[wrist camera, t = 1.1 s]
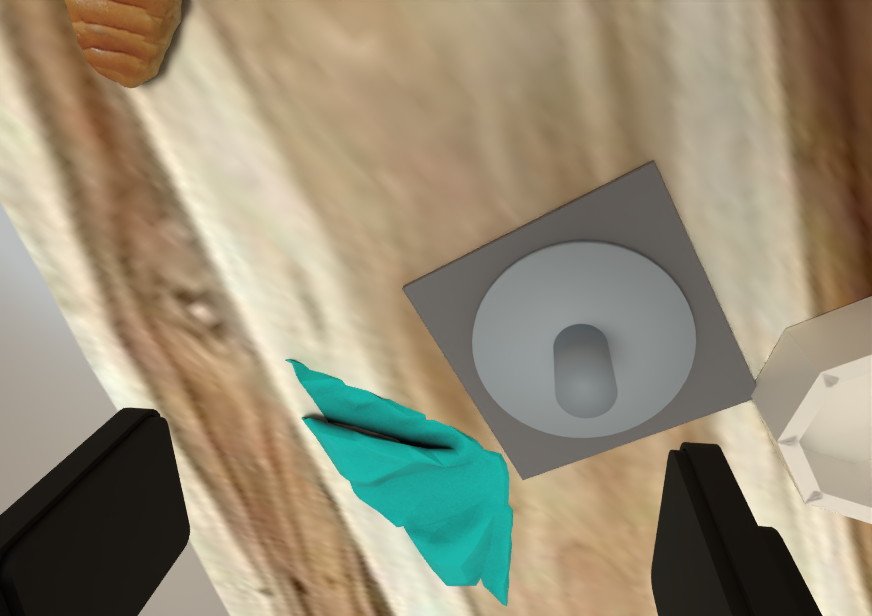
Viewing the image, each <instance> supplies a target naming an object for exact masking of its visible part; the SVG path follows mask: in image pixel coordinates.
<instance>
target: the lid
mask: <svg viewBox="0 0 872 616" xmlns="http://www.w3.org/2000/svg"><path fill="white" fill-rule="evenodd" d="M695 348H696V330H695V324H694V320H693V315H692V313H691V310H690V307H689V305H688V302H687V301H686V299H685V297H684V295H683V293H682V292H681V290H680V288H679V286H678V285H677V284H676V282H675V281H674V280H673V279H672V277H671V276H670V275H669V274H668V273H667V272H666V271H665V270H664V269H663V268H662V267H661V266H660V265H658V264H657V263H655V262H654V261H653V260H651V259H650V258H648V257H647V256H645V255H643V254H641V253H639V252H637V251H635V250H633V249H630V248H627V247H625V246H622V245H619V244H614V243H610V242H606V241H596V240H572V241H565V242H559V243H555V244H552V245H548V246H544V247H542V248H539V249H537V250H535V251H532V252H530V253H528V254H526V255H525V256H523V257H521V258H519V259H518V260H516V261H515V262H514V263H512V264H511V265H510V266H508V267H507V268H506V269H505V270H504V271H503V272H502V273H501V274H500V275H499V276H498V277H497V278H496V279H495V280H494V282H493V283H492V284H491V286H490V287H489V288H488V290H487V292H486V293H485V295H484V297H483V299H482V301H481V303H480V306H479V308H478V311H477V315H476V319H475V323H474V328H473V337H472V349H473V357H474V362H475V366H476V369H477V372H478V375H479V377H480V379H481V381H482V383H483V385H484V387H485V388H486V390H487V391H488V393H489V394H490V395H491V397H492V398H493V399H494V400H495V401H496V402H497V404H498V405H499V406H500V407H501V408H502V409H504V410H505V411H506V412H507V413H508V414H510V415H511V416H512V417H514V418H516V419H517V420H519V421H520V422H522V423H524V424H526V425H528V426H530V427H532V428H534V429H537V430H540V431H542V432H545V433H549V434H553V435H557V436H563V437H571V438H593V437H602V436H607V435H613V434H616V433H619V432H623V431H626V430H628V429H631V428H633V427H635V426H638V425H640V424H641V423H643V422H645V421H647V420H649V419H650V418H652V417H653V416H654V415H656V414H657V413H658V412H660V411H661V410H662V409H663V408H664V407H665V406H666V405H668V404H669V403H670V402H671V401H672V399H673V398H674V397H675V396H676V394H677V393H678V392H679V391H680V389H681V387H682V386H683V384H684V383H685V381H686V379H687V377H688V374H689V372H690V370H691V367H692V364H693V360H694V356H695Z"/></svg>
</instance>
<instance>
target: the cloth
mask: <svg viewBox="0 0 872 616" xmlns="http://www.w3.org/2000/svg"><path fill="white" fill-rule="evenodd" d="M285 361H288V362H291V363H292V365H293V368H294V370H295V373H296V376H297V378H298V380H299V382H300V383H301V384H302V385H303V387H304V388H305V389H306V391H307V392H308V393H309V395H310V396H311V397H312V398H313V400H314V401H315V403H316V404H317V406H318V407H319V409H320V410H321V412H322V413H323V415H324V416H325V418H326V419H327V421H328V422H329V423H339V424H344V425H350V426H355V427H358V428H362V429H365V430H368V431H371V432H375V433H378V434H381V435H384V436H388V437H391V438H394V439H397V440H399V441H400V442H401V443H399V442H396V441H393V440H390V439H387V438H383V437H379V436H375V435H370V434H366V433H362V432H358V431H353V430H350V429H346V428H343V427H340V426H336V425H333V424H329V423H326V422H323V421H319V420H316V419H313V418H308V419H304V417H302V420H303V421H304V422H305V424H306V425H307V426H308V428H309V429H310V430H311V431H312V433H313V434H314V435H315V436H316V438H317V439H318V441H319V442H320V444H321V445H322V447H323V448H324V450H325V452H326V453H327V455H328V456H329V458H330V459H331V461H332V462H333V464H334V465H335V467H336V468H337V470H338V471H339V473H340V474H341V475H342V476H343V477H345V478H346V479H347V480H349V481H350V483H351V486H352V489H353V491H354V493H355V494H356V495H357V496H358V498H359V499H361V500H362V501H364V502H365V503H367V504H368V505H369V506H371V507H372V508H374V509H375V510H377V511H378V512H380V513H381V514H382V515H383V516H384V517H386V518H387V519H388V520H389V521H390V522H392V523H393V524H394V525H395V526H396V527H401V526H404V528H405V530H406V532H407V533H408V535H409V536H410V538H411V540H412V541H413V543H414V544H415V546H416V547H417V549H418V550H419V552H420V553H421V555H422V556H423V557H424V559H425V560H426V562H427V563H428V564H429V566H430V567H431V568H432V570H433V571H434V572H435V573H436V574H437V575H438V576H439V577H440V579H441V580H442V581H443V582H444V583H445V584H446V585H447V586H476V585H477V583H478V582H479V580H480V578H481V580H482V583H483V585H484V587H485V588H487V589H488V590H489V591H490V592H491V593H492V594H493V595H494V596H495V597H496V598H497V599H498V600H499V601H500V602H501V603H502V604H503V605H505V606H507V592H508V586H509V569H510V560H511V549H512V541H511V532H512V526H513V510H512V508H511V507H510V506H509V504H508V500H509V472H508V468H507V464H506V462H505V461H504V459H503V457H502V455H501V453H496V452H492V451H488V450H484V449H483V447H482V446H481V445H480V444H479V443H478V441H476V440H475V439H473V438H471V437H469V436H468V435H466V434H464V433H462V432H460V431H459V430H457V429H455V428H453V427H452V426H450V425H449V426H447V425H444V424H442V423H440V422H437V421H435V420H426V417H425V414H422V413H420V412H417V411H414V410H412V409H409V408H407V407H404V406H402V405H399V404H397V403H396V402H394V401H392V400H389V399H382V398H379V397H378V396H376V395H374V394H372V393H371V392H369V391H366V390H362V389H358V388H355V387H351V386H347V385H345V384H344V382H343V381H342V380H340V379H338V378H335V377H332V376H329V375H326V374H324V373H320V372H316V371H312V370H309V368H307V367H306V366H305V365H304V364H301V363H298V362H295V361H292V360H289V359H287V360H285ZM421 447H422V448H421Z"/></svg>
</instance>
